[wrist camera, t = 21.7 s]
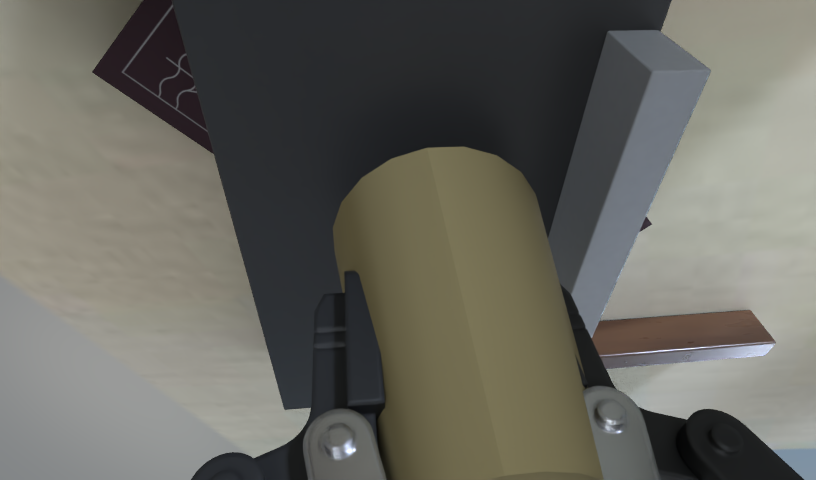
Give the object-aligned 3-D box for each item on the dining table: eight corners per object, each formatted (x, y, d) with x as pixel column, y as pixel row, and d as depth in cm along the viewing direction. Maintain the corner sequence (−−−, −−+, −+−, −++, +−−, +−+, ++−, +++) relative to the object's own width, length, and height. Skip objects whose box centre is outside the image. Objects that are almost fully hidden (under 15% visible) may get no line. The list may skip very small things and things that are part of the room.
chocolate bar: (305, -227, 10) (652, 224, 20) (307, -226, 11) (641, 209, 21) (91, 72, 14) (476, 330, 24) (103, 58, 15) (472, 315, 24)
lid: (52, -475, 7) (-75, -593, 5) (800, -416, 9) (970, -490, 6) (285, 398, 24) (280, 463, 21) (529, 377, 25) (549, 437, 23)
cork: (501, 307, 17) (652, 772, 9) (323, 300, 16) (315, 834, 8) (572, 158, 13) (948, 743, 5) (344, 133, 12) (368, 853, 4)
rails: (105, -376, 9) (57, -409, 8) (1213, -307, 12) (1352, -322, 10) (283, 358, 25) (280, 397, 24) (740, 323, 28) (765, 356, 26)
